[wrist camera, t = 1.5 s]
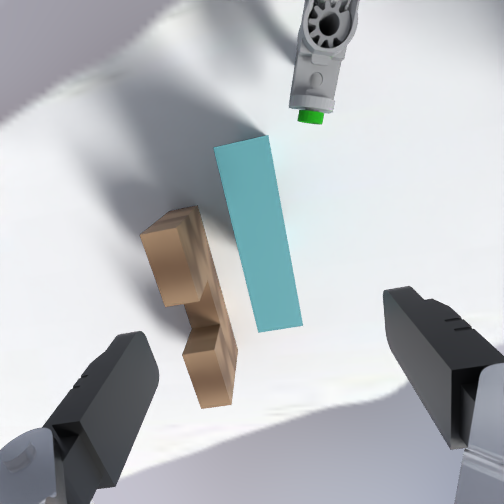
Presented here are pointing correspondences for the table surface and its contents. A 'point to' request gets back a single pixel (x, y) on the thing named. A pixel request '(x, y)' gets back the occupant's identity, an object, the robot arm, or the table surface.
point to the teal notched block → (260, 231)
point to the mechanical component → (321, 56)
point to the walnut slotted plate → (195, 301)
